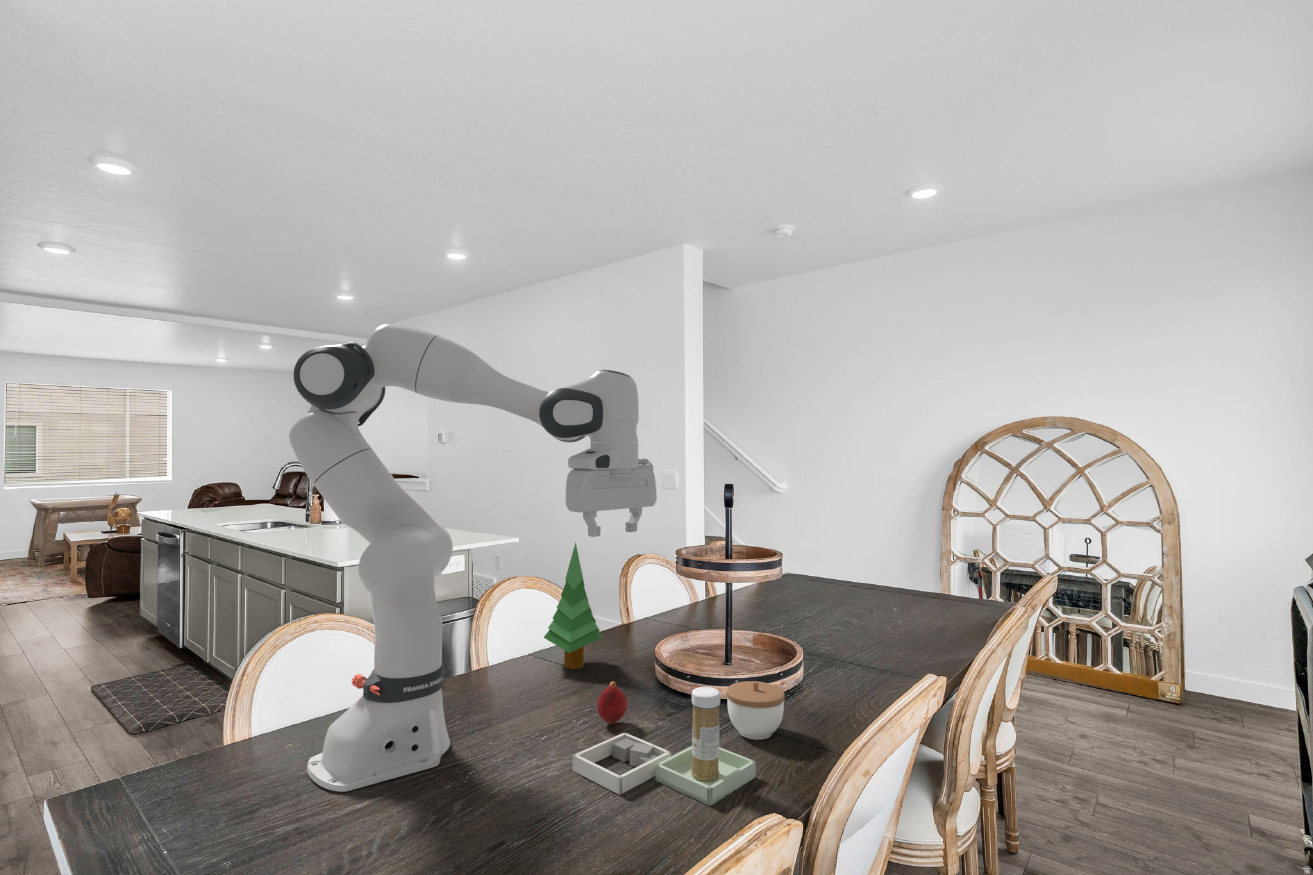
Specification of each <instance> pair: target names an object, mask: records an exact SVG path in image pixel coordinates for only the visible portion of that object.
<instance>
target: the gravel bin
mask: <svg viewBox="0 0 1313 875" xmlns="http://www.w3.org/2000/svg"><path fill="white" fill-rule="evenodd" d="M610 756H612V757H613V758H614V759H617V760H618V761H621V762H623V763H626V762H628V761H629V766H632V767H635V768H632V769H631V770H628V771H626V772H625V773H622V774H620V775H619V774H617V773H615V772H613V771H611V770H609V769H607V768H605V767H603V766H601V765H599V764H596V763H597V762H599V761H601V760H604V759H606V758H608V757H610ZM671 756H672V751H669V750H667V749H665V748H662V747H660V746H658V745H656V744H653V743H650V742H648V741H646V740H644V739H641V738H639V737H637V736H633V735H632V734H629V733H627V732H622V733H620V734H618V735H615V736H614V737H611V738H609V739H607V740H605V741H602V742H599V743H597V744H595V745H593V746H590V747H589V748H586V749H584V750H581V751H579V752H576V753H574V754H573V755H572V772H574V773H576V774H578V775H580V776H582V777H584V778H586V779H588V780H590V781H591V782H594V784H595V783H596V784H598V785H600V786H601V787H603V788H605V789H607V790H609V791H611V792H612V793H615V794H617V795H618V796H620V795H623V794H624V793H626V792H628V791H630V790H632V789H634V788H635V787H637V786H640V785H642V784H643V783H645V782H647V781H648V780H650V779H652V778H654V777H655V767H656V764H658V763H660V762H662V761H664V760H666V759H668V758H670V757H671Z"/></svg>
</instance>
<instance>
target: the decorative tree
mask: <svg viewBox="0 0 1313 875" xmlns="http://www.w3.org/2000/svg"><path fill="white" fill-rule="evenodd" d="M581 566H582V565H581V562H580V556H579V552H578V548H577V542H576V541H575V542H574V546H573V549H572V553H571V557H570V560H569V565H568V568H567V572H566V575H565V578H564V579H565V583H564V587H563V590H562V592H561V594H560V596H561V597H560V599H559V602H558V604H557V606H556V611H555V613H554V615H553V617H552V622H551V623H550V624H549V625H548V627H547V629H548V631H547V632H546V634H544V636H543V638H544V639H545V640H547V641H548V642H550V643H552V644H553V645H555V646H557V647H558V648H560V649H561V650H564V659H563V660H564V663H563V664H564V667H563V668H565V669H569V670H576V669H583V667H584V662H585V660H584V657H585V655H584V654H585V653H584V652H585V646H588V645H589V644H591V643H594V642H596V641H598V640H604V639H605V638H604V637H603V635H602V634H601V632H600V631H601V630H600V628H599V627H598V625H597V621H596V618H595V617H594V615H593V611H592V608H591V606H590V603H589V598H588V595H587V592H586V590H585V583H584V582H585V581H584V576H583V571H582V567H581Z"/></svg>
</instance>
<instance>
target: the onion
mask: <svg viewBox="0 0 1313 875" xmlns="http://www.w3.org/2000/svg"><path fill="white" fill-rule="evenodd" d="M596 709H597V713H598V715H599V716H600V718H601V719H602V720H603V721H605V722H606V723H607V724H609V725H615V724H616V723H617V722H619V720H621V719H622V718H623V717H624V716H625V714H626V713H627V712H626V711H627V710H628V701H627V696H626V695H625V693H624V691H623V690H622V689H620V688H619V687H617V683H616V682H615V681H610V683H609V684H608V687H606V688H605V689H604V690H602V692H600V694H599V695H598V698H597V703H596Z"/></svg>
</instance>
